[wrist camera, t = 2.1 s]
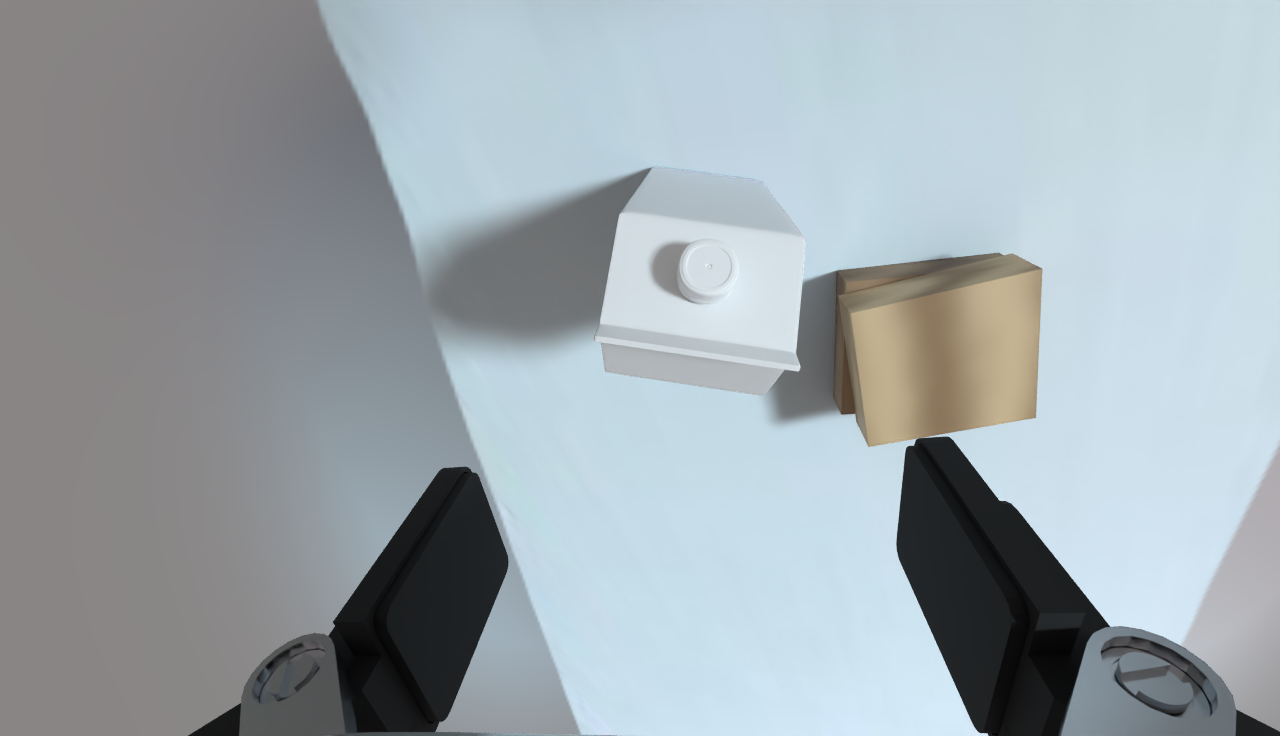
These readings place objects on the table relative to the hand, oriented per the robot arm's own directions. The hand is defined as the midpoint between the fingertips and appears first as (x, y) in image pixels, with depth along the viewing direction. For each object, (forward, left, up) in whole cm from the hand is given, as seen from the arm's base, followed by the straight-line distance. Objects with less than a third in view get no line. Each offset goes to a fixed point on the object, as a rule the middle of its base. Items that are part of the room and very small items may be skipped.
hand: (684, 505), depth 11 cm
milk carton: (0, 0, -26) cm, 26 cm away
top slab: (-14, +9, -24) cm, 29 cm away
